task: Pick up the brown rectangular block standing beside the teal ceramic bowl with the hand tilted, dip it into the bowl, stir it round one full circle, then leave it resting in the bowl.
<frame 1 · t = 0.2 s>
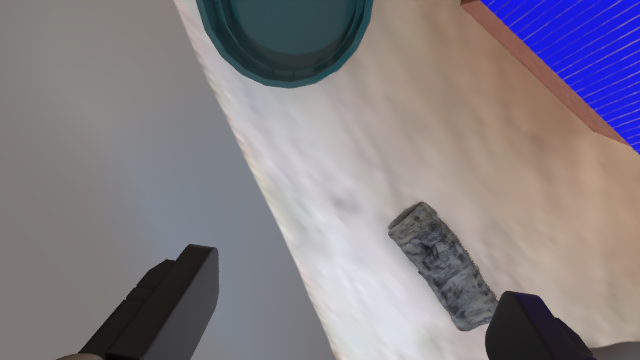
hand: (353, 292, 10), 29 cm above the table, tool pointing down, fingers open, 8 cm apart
house: (579, 21, 32), on the table
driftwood: (445, 270, 44), on the table
bowl: (293, 1, 33), on the table
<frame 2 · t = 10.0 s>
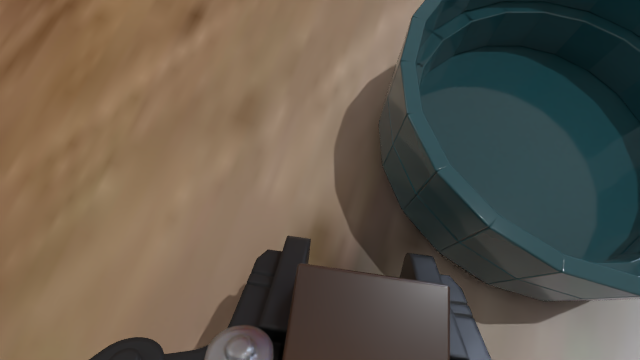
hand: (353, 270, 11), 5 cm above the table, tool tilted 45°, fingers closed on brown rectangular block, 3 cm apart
brown rectangular block: (336, 333, 14), on the table, touching gripper
bowl: (518, 150, 18), on the table
when the fingers open (6 cm above the table, at t = 22.4 s): brown rectangular block stays where it is, resting on bowl.
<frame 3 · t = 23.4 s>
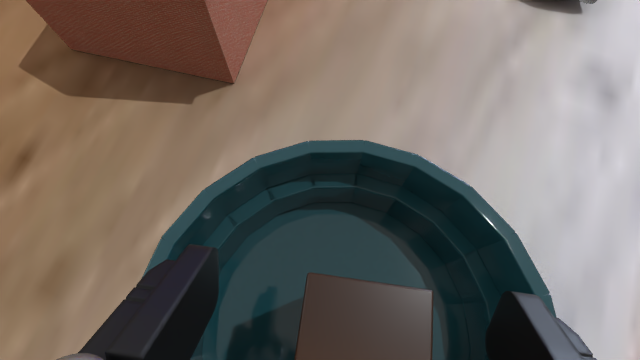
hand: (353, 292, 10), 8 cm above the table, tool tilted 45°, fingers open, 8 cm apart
brown rectangular block: (338, 330, 16), point 1 cm above the table, touching bowl
bowl: (335, 327, 17), on the table
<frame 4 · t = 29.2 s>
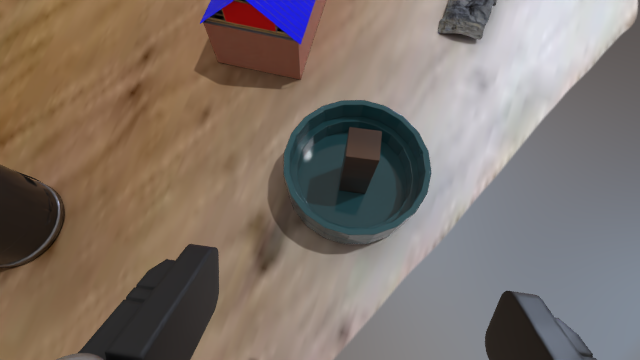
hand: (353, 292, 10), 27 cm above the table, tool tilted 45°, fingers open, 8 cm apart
house: (279, 18, 49), on the table
brown rectangular block: (353, 180, 39), point 1 cm above the table, touching bowl
bowl: (351, 181, 39), on the table
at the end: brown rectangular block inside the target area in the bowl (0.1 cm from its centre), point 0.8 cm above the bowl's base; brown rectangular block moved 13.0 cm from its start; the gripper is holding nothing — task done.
